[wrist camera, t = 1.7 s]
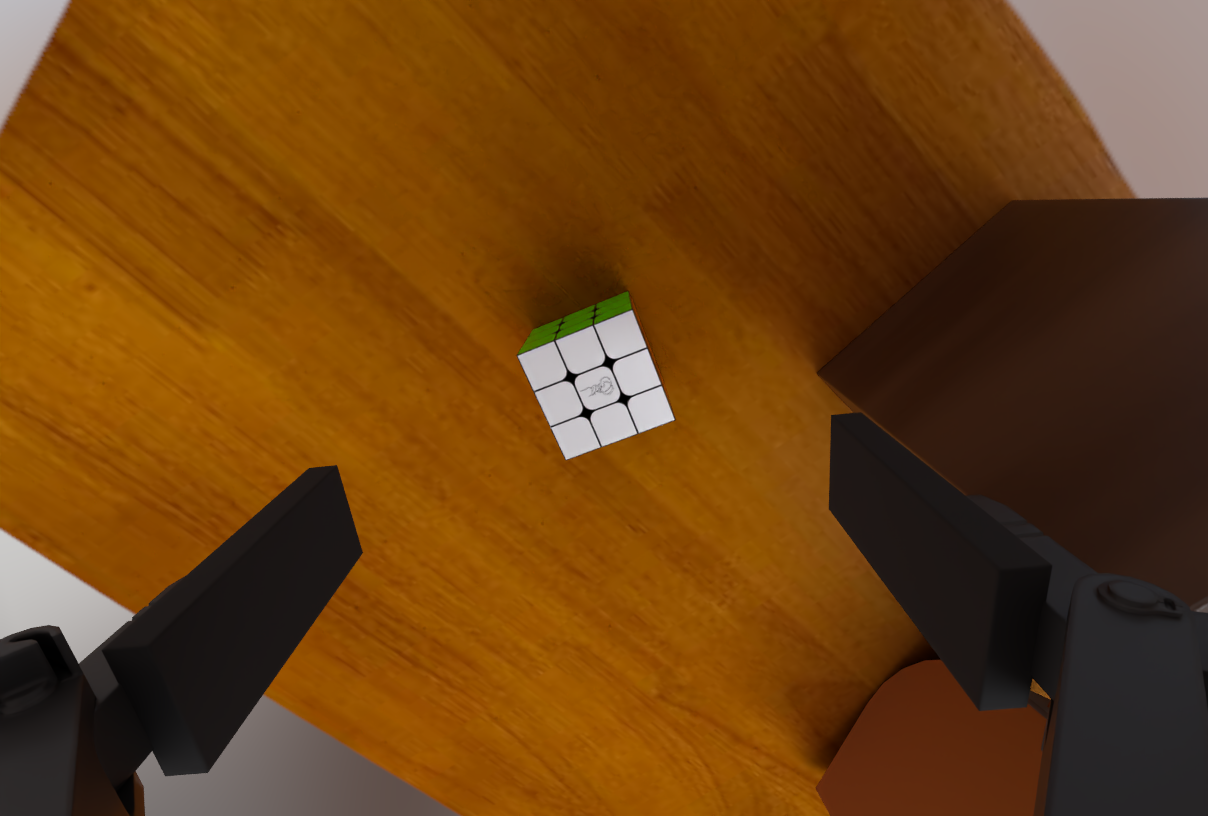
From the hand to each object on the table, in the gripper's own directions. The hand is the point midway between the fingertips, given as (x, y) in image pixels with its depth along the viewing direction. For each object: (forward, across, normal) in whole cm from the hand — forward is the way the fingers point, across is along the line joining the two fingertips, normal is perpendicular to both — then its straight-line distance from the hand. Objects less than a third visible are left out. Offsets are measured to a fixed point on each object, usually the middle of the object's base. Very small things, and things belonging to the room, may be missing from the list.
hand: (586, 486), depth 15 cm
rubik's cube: (+13, 0, 0) cm, 13 cm away
